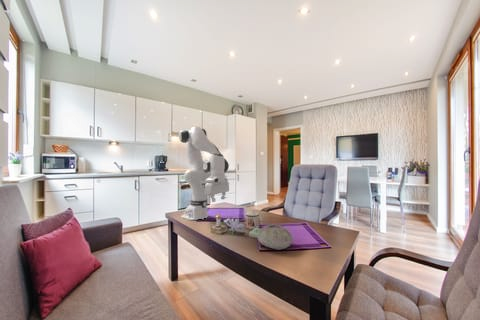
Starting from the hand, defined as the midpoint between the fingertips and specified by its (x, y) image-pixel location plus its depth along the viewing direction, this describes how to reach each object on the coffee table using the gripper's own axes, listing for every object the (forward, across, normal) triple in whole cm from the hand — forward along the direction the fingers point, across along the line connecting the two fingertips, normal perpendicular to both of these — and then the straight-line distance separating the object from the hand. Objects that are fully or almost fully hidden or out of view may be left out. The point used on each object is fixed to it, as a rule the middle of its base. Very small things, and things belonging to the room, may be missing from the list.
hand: (218, 200), depth 125 cm
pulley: (+20, -10, +1) cm, 22 cm away
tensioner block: (+20, 0, 0) cm, 20 cm away
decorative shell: (+20, +3, +39) cm, 44 cm away
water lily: (+20, -3, +11) cm, 23 cm away
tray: (+20, -7, +25) cm, 33 cm away
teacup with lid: (+20, -18, +16) cm, 31 cm away
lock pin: (+20, 0, 0) cm, 20 cm away
